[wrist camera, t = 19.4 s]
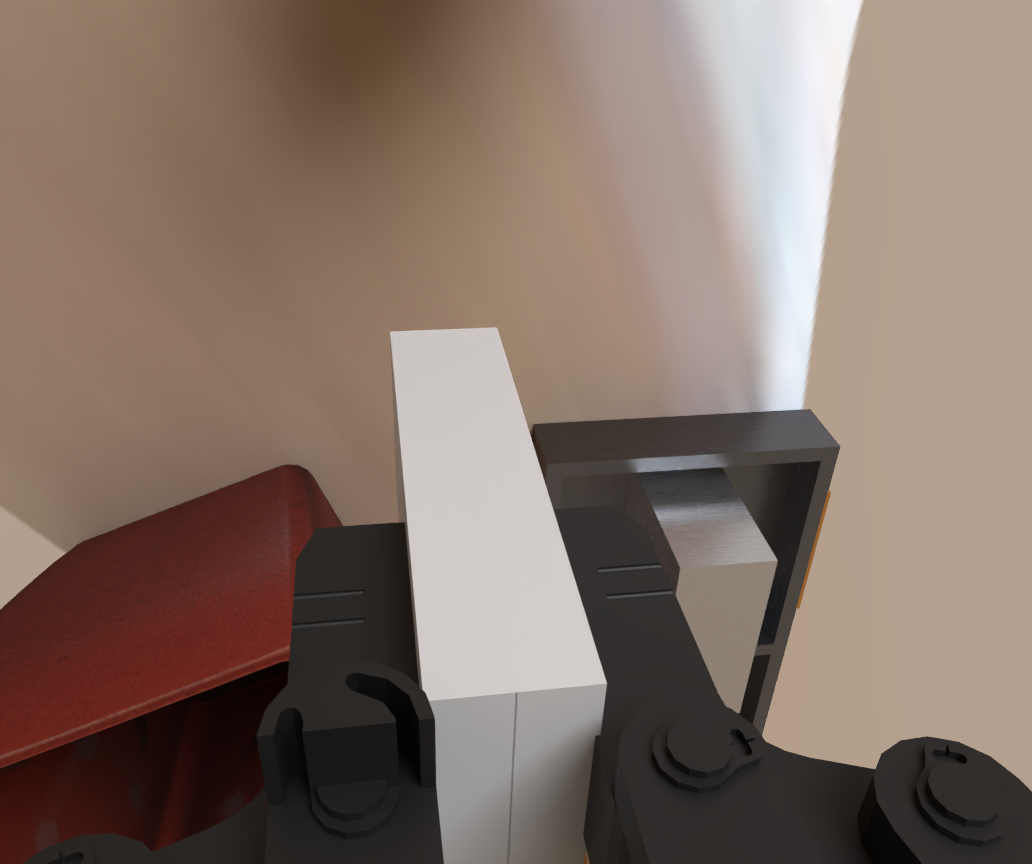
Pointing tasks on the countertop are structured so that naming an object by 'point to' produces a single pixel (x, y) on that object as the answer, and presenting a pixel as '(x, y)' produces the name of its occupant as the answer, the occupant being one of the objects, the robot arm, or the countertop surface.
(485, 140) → the countertop surface
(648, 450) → the tray
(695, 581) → the plain grey rectangular box
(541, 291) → the countertop surface
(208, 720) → the plant pot
